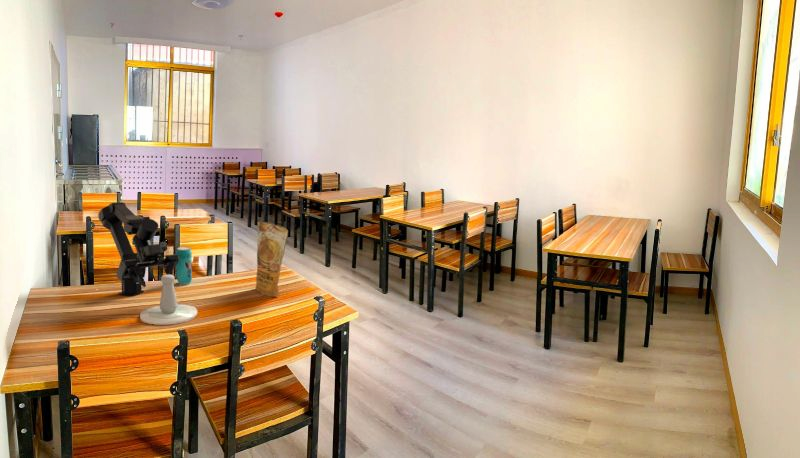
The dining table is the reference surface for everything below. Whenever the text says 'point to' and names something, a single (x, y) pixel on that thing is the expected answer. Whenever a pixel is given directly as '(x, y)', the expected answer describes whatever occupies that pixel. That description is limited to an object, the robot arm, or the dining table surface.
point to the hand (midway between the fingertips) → (158, 284)
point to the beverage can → (184, 266)
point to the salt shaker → (168, 295)
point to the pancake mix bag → (269, 257)
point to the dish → (168, 315)
